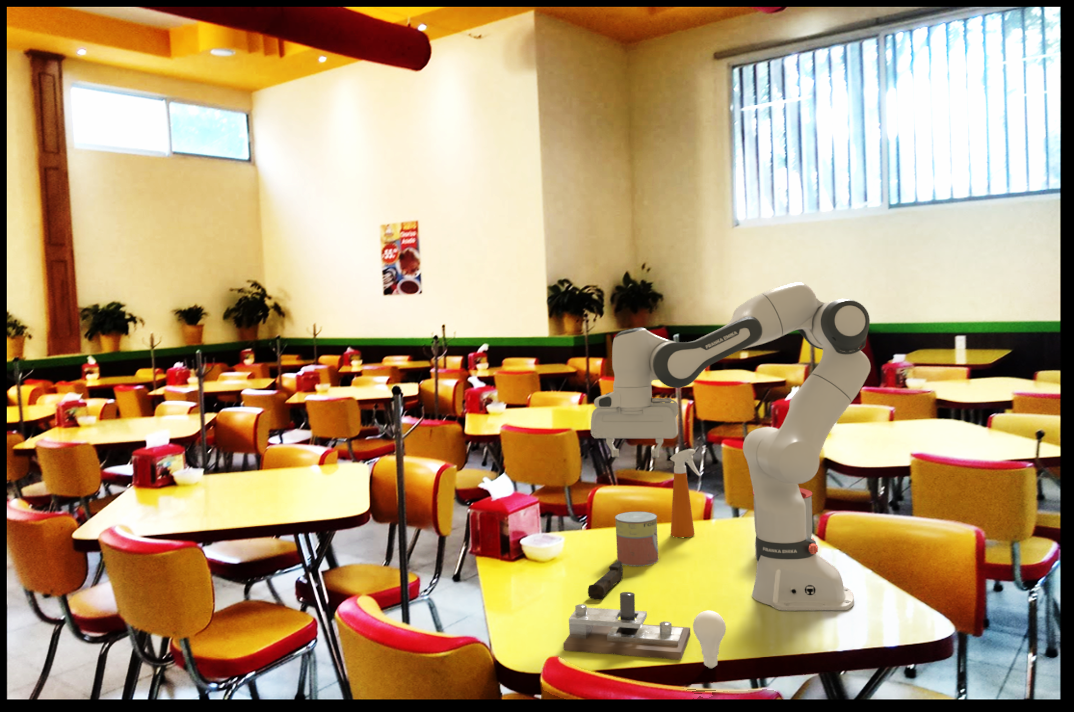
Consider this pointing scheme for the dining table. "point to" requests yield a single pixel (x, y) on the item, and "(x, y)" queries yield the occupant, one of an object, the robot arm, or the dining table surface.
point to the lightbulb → (709, 635)
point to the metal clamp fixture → (589, 617)
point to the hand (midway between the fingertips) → (635, 457)
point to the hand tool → (606, 581)
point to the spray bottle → (682, 495)
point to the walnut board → (625, 645)
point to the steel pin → (627, 610)
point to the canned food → (637, 538)
